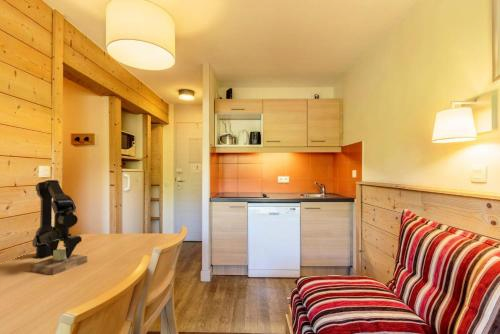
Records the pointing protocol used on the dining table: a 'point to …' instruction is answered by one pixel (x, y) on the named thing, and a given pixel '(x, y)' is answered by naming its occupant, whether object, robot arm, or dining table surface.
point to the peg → (59, 255)
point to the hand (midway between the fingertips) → (60, 256)
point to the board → (58, 265)
